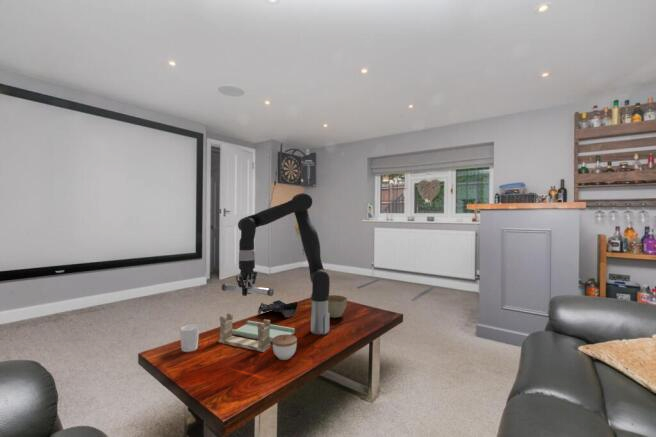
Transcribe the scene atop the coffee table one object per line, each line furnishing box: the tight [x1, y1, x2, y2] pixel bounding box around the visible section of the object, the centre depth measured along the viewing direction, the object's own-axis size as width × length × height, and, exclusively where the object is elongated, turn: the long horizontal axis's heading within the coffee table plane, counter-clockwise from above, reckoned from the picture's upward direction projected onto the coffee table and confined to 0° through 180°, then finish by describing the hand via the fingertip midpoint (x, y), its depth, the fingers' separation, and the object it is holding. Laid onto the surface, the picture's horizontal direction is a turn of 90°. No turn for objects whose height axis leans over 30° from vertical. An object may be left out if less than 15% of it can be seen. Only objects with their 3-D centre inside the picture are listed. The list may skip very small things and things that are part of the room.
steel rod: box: [221, 283, 275, 297], centre depth 144 cm, size 28×3×3 cm, turn 68°
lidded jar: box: [271, 334, 298, 361], centre depth 131 cm, size 11×11×9 cm
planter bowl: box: [328, 294, 348, 319], centre depth 186 cm, size 16×16×11 cm
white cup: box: [179, 324, 200, 353], centre depth 137 cm, size 8×8×10 cm
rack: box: [218, 313, 272, 353], centre depth 143 cm, size 26×6×12 cm, turn 67°
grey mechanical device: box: [257, 300, 298, 318], centre depth 186 cm, size 18×20×9 cm
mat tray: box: [232, 320, 296, 343], centre depth 157 cm, size 30×15×2 cm, turn 67°
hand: (247, 294), depth 144 cm, fingers closed on steel rod, 3 cm apart
